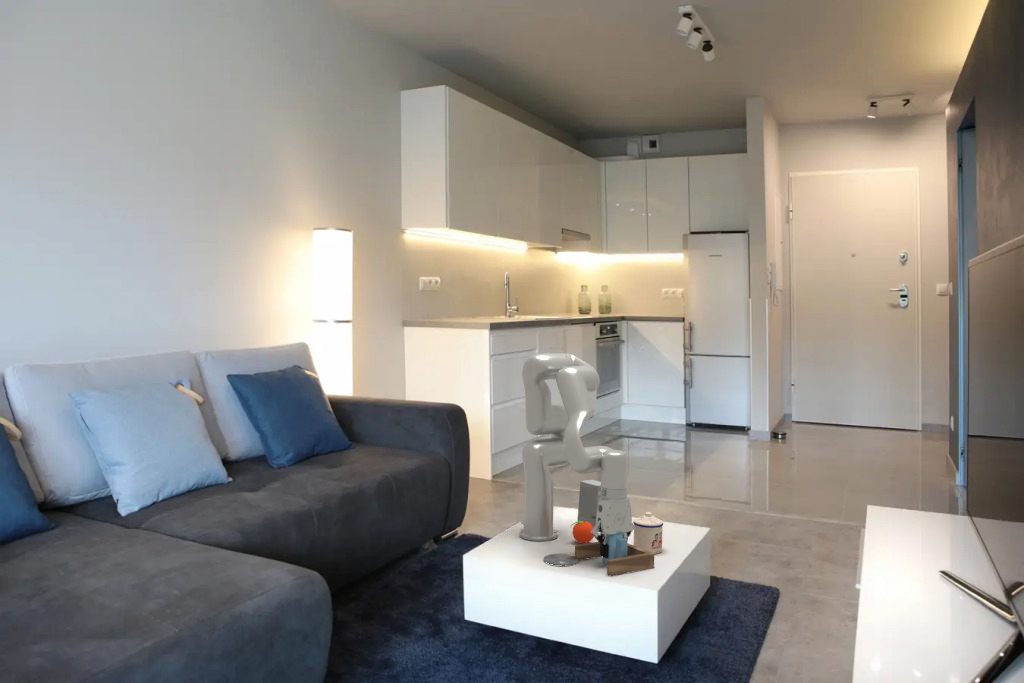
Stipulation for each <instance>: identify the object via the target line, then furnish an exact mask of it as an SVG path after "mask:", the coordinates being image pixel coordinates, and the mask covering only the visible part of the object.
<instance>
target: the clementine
mask: <svg viewBox="0 0 1024 683" xmlns="http://www.w3.org/2000/svg"><path fill="white" fill-rule="evenodd" d="M572 526H573V527H572ZM569 528H572V536H573V538H574V540H575V541H576V542H577V543H579V544H587V543H591V541H592V540H593V538H595V537H594V536H593V535H592V534H591V531H592V530H593V526H592V525H591V524H590V523H589V522H586V521H578V522H577V521H575V522H574V523H572V524H571V525H570V527H569Z"/></svg>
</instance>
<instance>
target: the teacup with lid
mask: <svg viewBox="0 0 1024 683" xmlns="http://www.w3.org/2000/svg"><path fill="white" fill-rule="evenodd" d="M632 523H633V525H634V526H635V528H634V530H633V545H634V546H636V547H639V548H641V549H644V550H646V551H649V552H651V553H654V555H657V554H660V553H662V550H663V526H664V522H663V520H662V519H659V518H657V517H655V516H654V515H653V514H652V512H650V511H647V512H645V513H644V515H641V516H639V517H637V518H636V517H635V518H634V519H633V520H632Z"/></svg>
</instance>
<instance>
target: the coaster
mask: <svg viewBox="0 0 1024 683" xmlns="http://www.w3.org/2000/svg"><path fill="white" fill-rule="evenodd" d="M544 561H545V562H547V563H549V564H553V565H562V566H561V567H566V566H565V565H572V566H574V565H573V564H575V565H577V564H578V562H579V560H578V558H576V557H575V555H572V554H566V553H552V554H548V555H545V556H543V562H544ZM545 562H544V563H545ZM547 563H546V564H547ZM576 563H577V564H576ZM549 564H548V565H549ZM553 565H552V566H553Z"/></svg>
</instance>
